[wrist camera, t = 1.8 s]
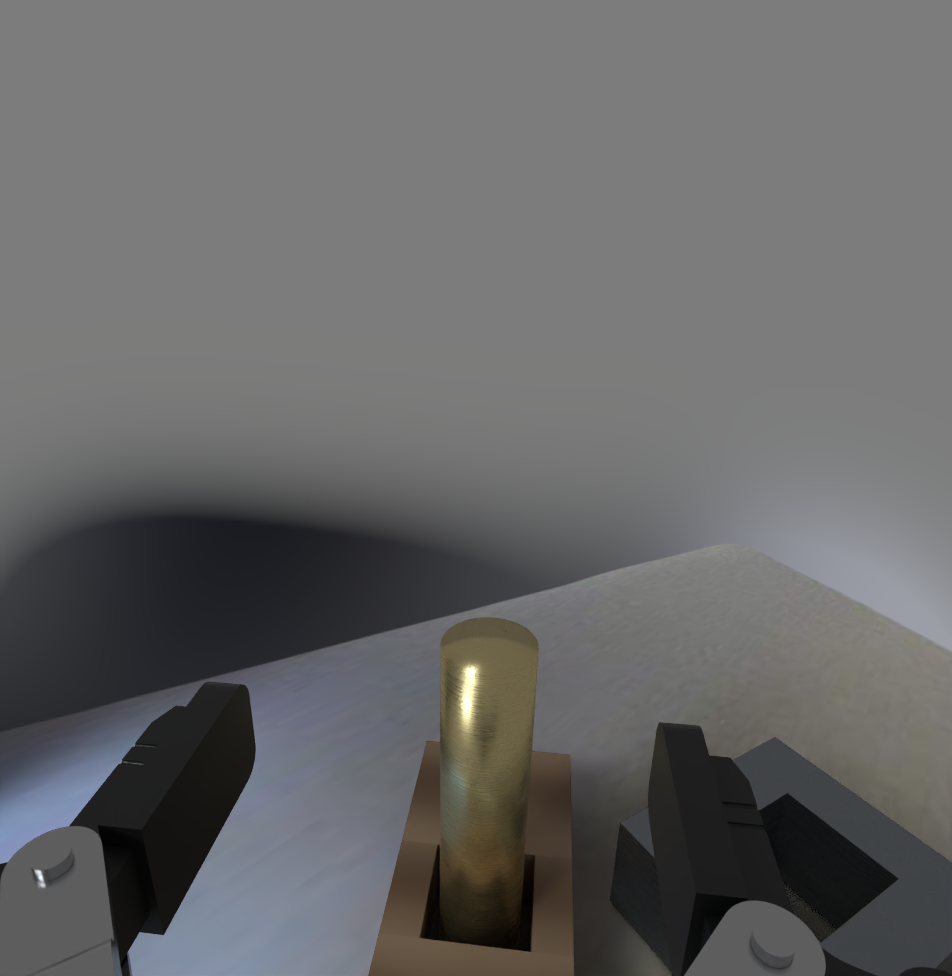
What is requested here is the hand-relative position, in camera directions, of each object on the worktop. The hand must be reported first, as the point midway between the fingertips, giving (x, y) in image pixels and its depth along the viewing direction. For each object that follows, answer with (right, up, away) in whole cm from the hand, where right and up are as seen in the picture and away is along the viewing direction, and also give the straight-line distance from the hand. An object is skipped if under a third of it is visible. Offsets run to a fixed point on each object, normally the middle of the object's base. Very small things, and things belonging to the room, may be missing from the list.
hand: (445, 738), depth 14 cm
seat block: (+15, -16, +19) cm, 29 cm away
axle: (+1, -16, +18) cm, 24 cm away
